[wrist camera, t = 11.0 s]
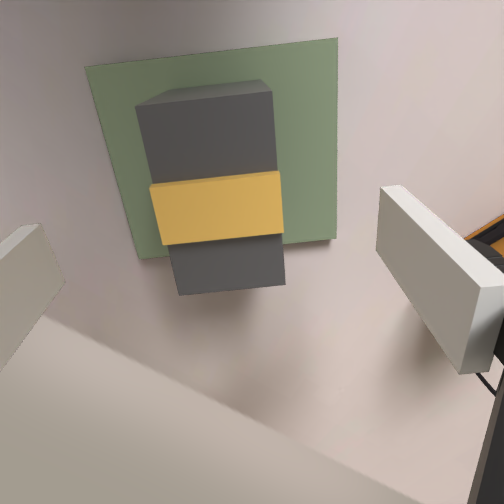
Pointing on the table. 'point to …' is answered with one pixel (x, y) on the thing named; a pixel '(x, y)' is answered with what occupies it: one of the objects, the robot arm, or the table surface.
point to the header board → (285, 118)
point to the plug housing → (216, 184)
